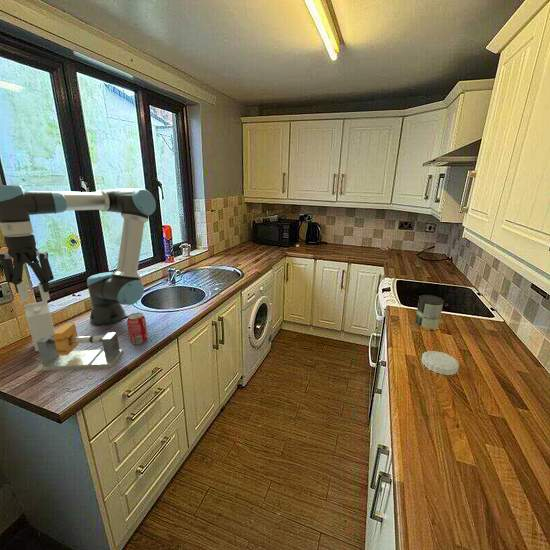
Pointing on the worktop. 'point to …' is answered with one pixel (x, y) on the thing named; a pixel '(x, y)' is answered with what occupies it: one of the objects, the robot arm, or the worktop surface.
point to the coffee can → (429, 311)
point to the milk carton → (39, 321)
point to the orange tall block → (65, 339)
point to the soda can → (137, 328)
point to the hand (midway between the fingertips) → (36, 300)
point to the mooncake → (440, 362)
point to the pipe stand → (79, 353)
